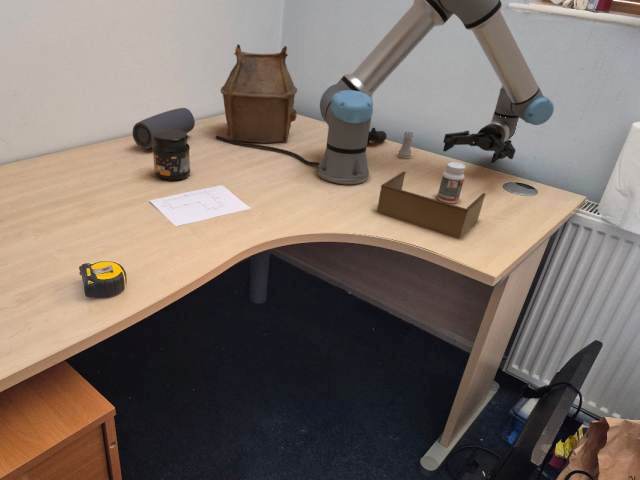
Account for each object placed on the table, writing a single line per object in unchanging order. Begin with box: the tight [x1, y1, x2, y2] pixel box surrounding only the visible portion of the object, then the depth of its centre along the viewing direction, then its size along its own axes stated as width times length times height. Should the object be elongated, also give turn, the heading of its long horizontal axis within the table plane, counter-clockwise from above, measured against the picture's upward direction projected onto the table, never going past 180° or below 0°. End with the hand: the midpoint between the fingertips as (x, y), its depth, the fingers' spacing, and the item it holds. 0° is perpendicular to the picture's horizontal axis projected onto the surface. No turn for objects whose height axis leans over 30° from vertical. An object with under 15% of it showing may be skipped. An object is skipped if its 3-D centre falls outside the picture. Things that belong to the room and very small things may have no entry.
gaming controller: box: [367, 127, 387, 144], centre depth 184 cm, size 17×6×10 cm
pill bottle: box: [436, 161, 466, 204], centre depth 142 cm, size 6×6×10 cm
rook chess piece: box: [397, 131, 414, 160], centre depth 171 cm, size 4×4×8 cm
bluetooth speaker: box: [132, 107, 196, 149], centre depth 173 cm, size 23×9×10 cm, turn 150°
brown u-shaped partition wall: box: [376, 171, 486, 239], centre depth 133 cm, size 13×22×8 cm, turn 52°
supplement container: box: [151, 130, 191, 182], centre depth 149 cm, size 10×10×12 cm
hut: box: [220, 43, 298, 144], centre depth 179 cm, size 23×27×30 cm
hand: (468, 152), depth 145 cm, fingers open, 13 cm apart
